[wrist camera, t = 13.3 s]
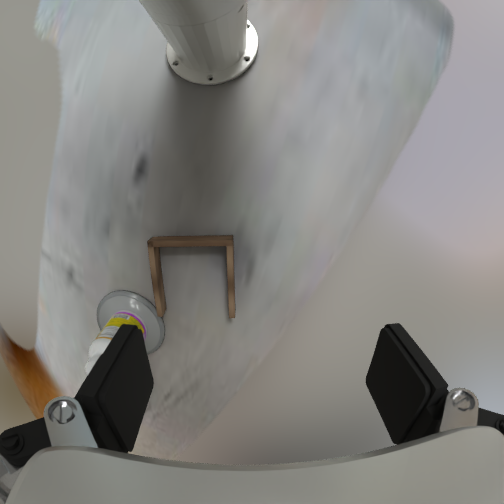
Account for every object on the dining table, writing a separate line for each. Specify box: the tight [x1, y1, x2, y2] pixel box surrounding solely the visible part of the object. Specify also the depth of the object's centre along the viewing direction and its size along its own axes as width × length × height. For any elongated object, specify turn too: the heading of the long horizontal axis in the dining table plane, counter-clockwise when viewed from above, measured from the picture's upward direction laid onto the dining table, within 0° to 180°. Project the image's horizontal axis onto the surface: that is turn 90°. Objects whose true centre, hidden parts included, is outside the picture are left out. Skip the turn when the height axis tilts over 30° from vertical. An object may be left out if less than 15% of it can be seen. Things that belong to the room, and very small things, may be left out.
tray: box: [97, 291, 165, 354], centre depth 43 cm, size 12×12×1 cm
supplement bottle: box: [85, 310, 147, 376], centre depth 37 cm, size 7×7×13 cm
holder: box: [147, 235, 235, 318], centre depth 40 cm, size 12×12×2 cm
